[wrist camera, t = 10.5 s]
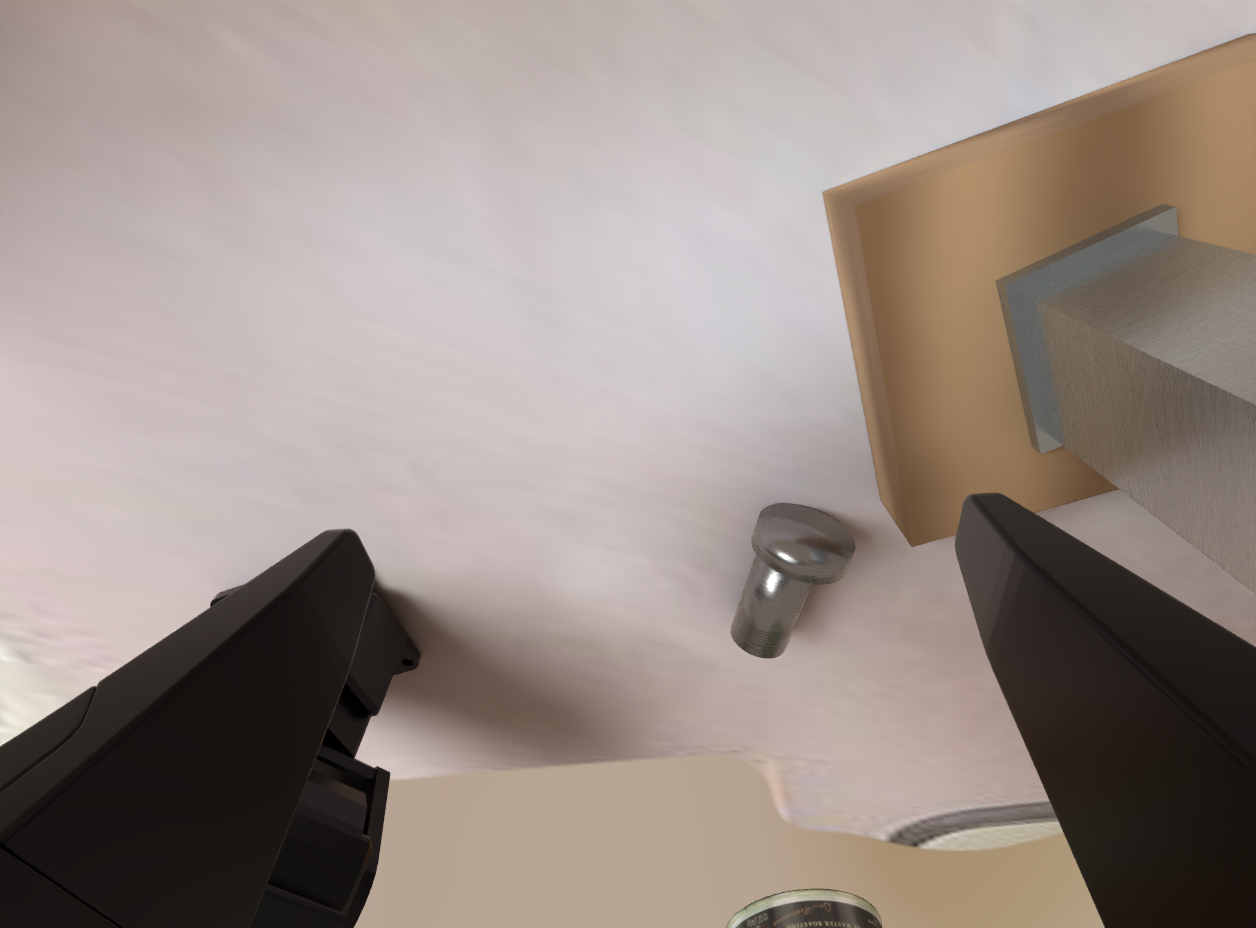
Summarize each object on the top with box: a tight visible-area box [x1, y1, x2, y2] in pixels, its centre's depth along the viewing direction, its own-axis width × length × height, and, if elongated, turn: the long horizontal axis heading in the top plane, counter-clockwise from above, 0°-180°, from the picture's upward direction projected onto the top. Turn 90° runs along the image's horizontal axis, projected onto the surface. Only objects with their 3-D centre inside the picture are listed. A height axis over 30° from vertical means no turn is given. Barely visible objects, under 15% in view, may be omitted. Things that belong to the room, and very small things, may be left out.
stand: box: [823, 33, 1256, 547], centre depth 20 cm, size 12×12×3 cm
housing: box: [995, 204, 1256, 594], centre depth 15 cm, size 4×6×10 cm
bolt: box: [731, 504, 855, 658], centre depth 25 cm, size 6×4×4 cm, turn 170°
